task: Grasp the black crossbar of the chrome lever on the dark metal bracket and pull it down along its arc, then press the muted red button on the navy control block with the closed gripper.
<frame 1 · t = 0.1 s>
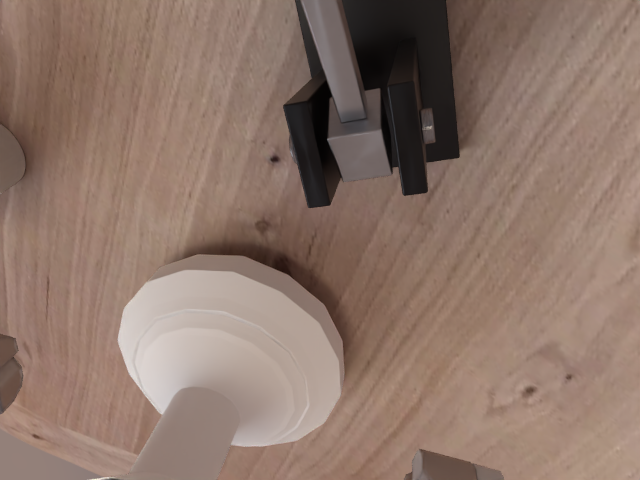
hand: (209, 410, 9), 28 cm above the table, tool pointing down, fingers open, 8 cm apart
lever: (322, 1, 15), point 17 cm above the table, hinge at 30.0°
bracket: (382, 77, 32), on the table
candle holder: (246, 327, 45), on the table
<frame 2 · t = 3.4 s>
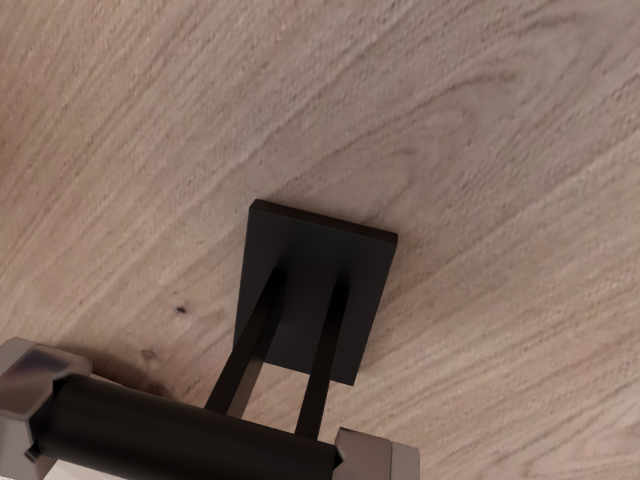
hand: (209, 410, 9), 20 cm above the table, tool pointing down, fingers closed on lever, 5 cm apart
lever: (230, 475, 14), point 17 cm above the table, hinge at 30.0°, touching gripper
bracket: (309, 293, 32), on the table
candle holder: (101, 423, 43), on the table
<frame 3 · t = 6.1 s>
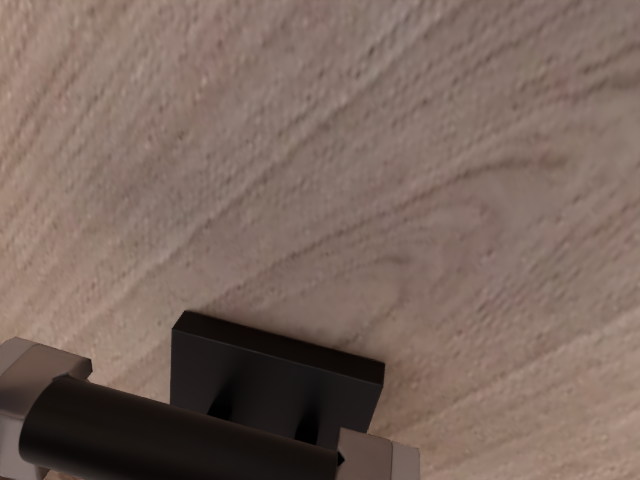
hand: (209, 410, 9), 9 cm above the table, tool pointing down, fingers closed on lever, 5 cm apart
bracket: (266, 425, 23), on the table
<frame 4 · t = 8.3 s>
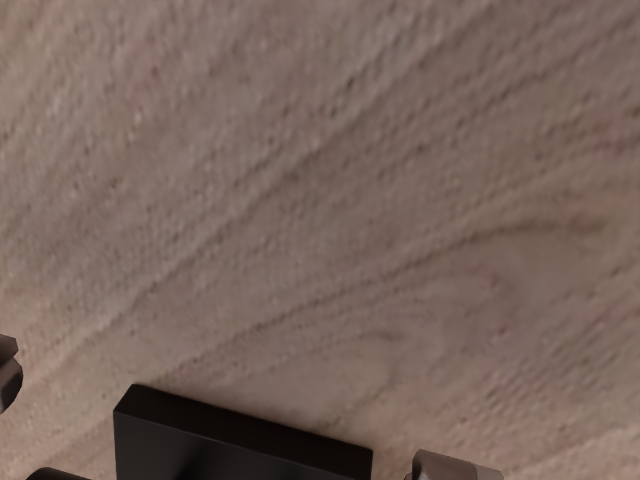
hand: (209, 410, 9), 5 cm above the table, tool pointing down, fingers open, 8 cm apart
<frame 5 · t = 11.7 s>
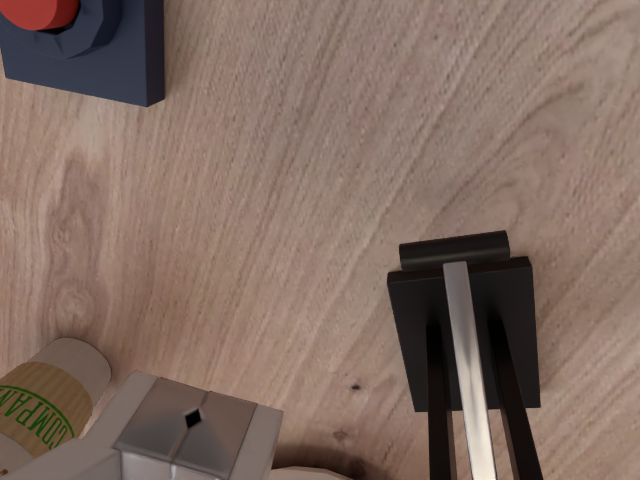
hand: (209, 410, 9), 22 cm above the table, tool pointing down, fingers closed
lever: (473, 395, 22), point 11 cm above the table, hinge at -31.9°
coffee cup: (80, 362, 43), on the table
bracket: (465, 335, 34), on the table
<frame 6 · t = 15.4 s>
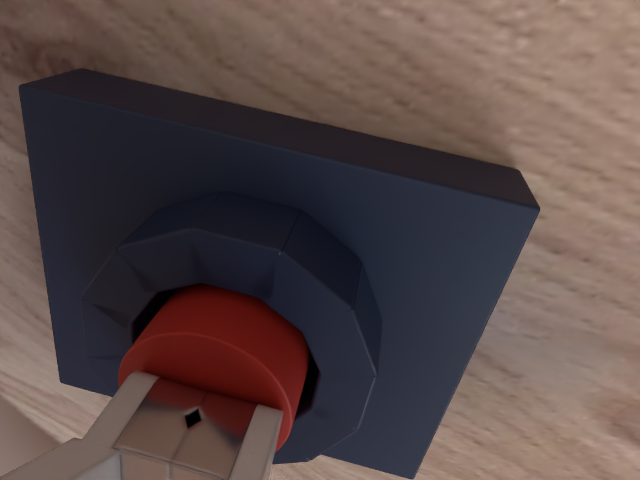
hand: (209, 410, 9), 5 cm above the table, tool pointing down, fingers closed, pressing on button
control block: (270, 268, 14), on the table
button: (219, 373, 10), point 4 cm above the table, slide at -0.2 cm, touching gripper
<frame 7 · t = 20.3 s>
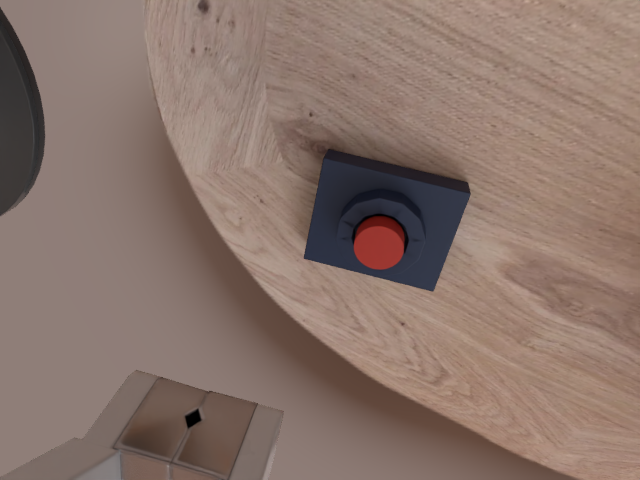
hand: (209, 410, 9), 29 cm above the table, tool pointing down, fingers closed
control block: (383, 216, 39), on the table
button: (379, 242, 35), point 4 cm above the table, slide at 0.1 cm
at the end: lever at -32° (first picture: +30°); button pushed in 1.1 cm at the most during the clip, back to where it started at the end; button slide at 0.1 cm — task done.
